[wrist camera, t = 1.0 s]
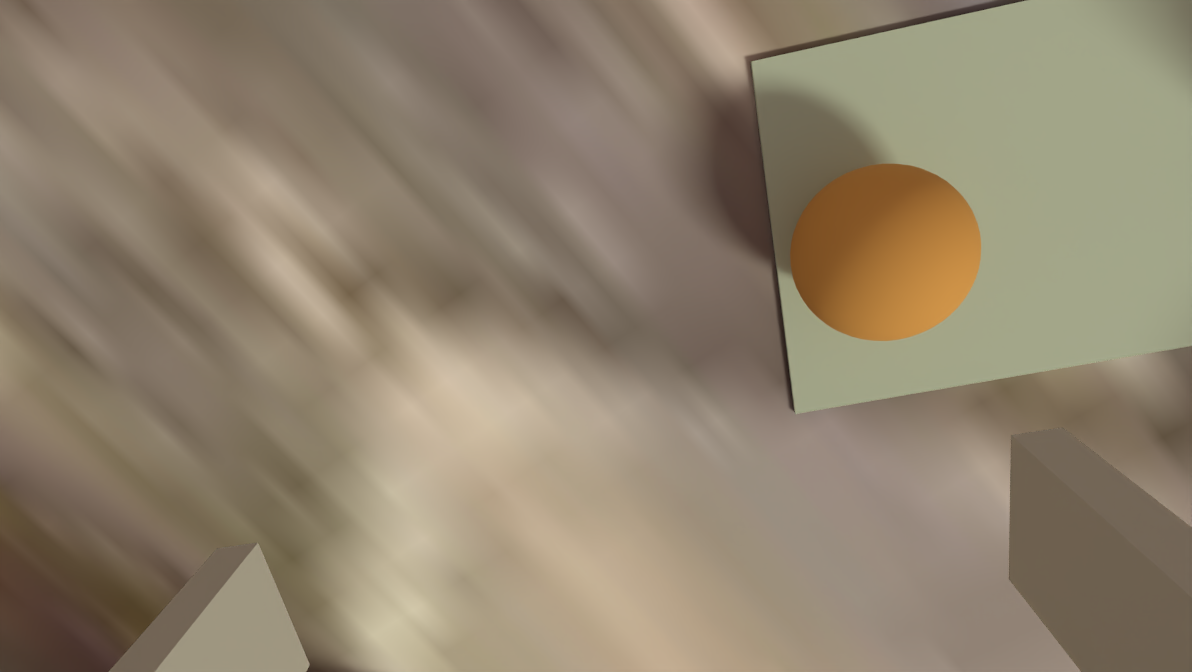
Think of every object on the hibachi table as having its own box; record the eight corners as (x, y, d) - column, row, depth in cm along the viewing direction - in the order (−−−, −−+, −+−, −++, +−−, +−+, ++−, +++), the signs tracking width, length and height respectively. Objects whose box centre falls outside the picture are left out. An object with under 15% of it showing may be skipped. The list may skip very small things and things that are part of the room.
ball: (783, 323, 27) (826, 382, 22) (764, 174, 26) (806, 197, 20) (936, 295, 27) (1020, 348, 21) (928, 140, 25) (1020, 154, 19)
